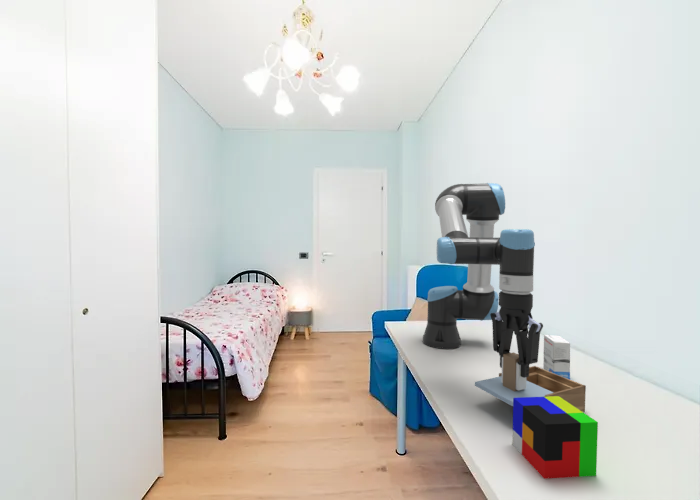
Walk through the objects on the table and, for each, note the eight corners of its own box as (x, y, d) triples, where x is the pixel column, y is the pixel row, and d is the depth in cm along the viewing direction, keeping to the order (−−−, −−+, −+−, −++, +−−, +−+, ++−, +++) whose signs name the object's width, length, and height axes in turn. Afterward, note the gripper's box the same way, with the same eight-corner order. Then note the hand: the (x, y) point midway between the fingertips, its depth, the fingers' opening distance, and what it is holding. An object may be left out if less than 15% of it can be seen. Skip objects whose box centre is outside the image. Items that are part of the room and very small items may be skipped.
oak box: (498, 396, 90) (498, 373, 90) (534, 388, 96) (534, 365, 96) (546, 423, 77) (547, 395, 77) (584, 411, 83) (585, 385, 83)
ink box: (570, 381, 101) (571, 343, 100) (552, 379, 102) (553, 341, 101) (558, 370, 109) (559, 335, 109) (542, 369, 110) (543, 334, 110)
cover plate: (474, 385, 86) (475, 351, 85) (511, 377, 91) (512, 345, 91) (515, 408, 74) (516, 368, 74) (555, 397, 80) (556, 360, 79)
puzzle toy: (512, 444, 69) (513, 397, 69) (557, 442, 70) (558, 396, 70) (544, 479, 59) (545, 424, 59) (596, 476, 60) (597, 422, 60)
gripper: (478, 287, 88) (477, 375, 89) (535, 298, 73) (533, 403, 73) (499, 286, 91) (497, 370, 92) (558, 296, 76) (555, 397, 76)
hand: (513, 385), depth 82 cm, fingers closed on cover plate, 3 cm apart
